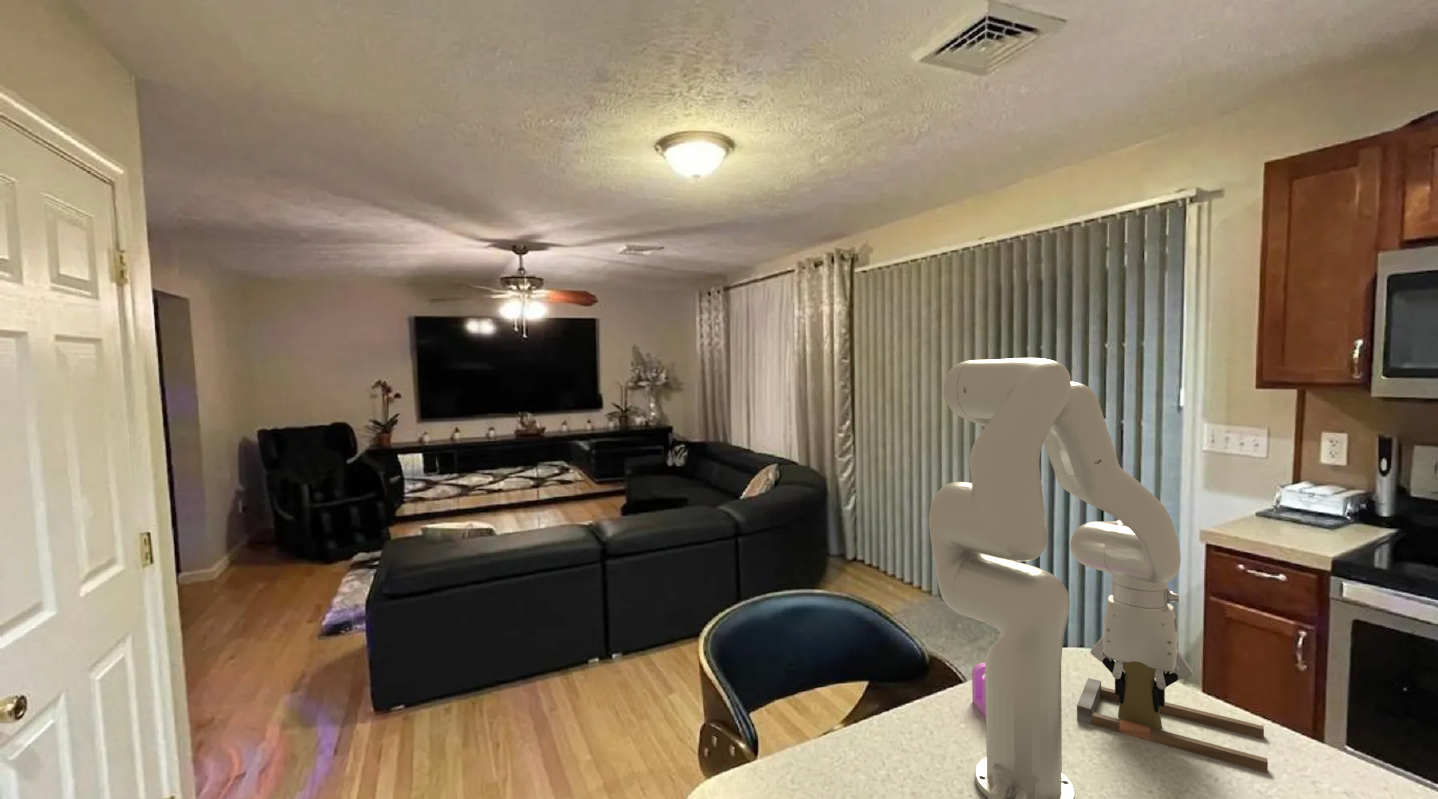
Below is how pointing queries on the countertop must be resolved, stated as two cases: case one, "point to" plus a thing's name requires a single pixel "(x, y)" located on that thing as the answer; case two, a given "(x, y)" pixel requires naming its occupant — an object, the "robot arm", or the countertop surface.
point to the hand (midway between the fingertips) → (1139, 703)
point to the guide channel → (1088, 715)
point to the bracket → (979, 687)
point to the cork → (1139, 696)
